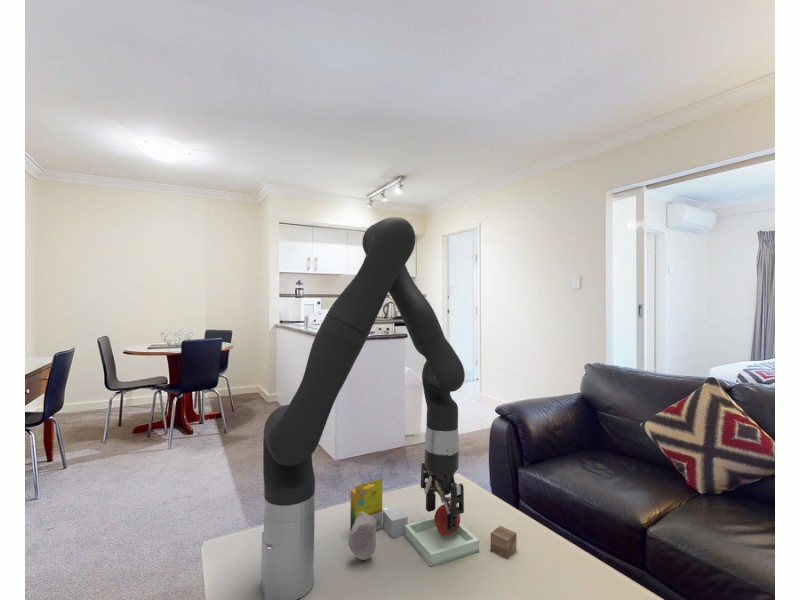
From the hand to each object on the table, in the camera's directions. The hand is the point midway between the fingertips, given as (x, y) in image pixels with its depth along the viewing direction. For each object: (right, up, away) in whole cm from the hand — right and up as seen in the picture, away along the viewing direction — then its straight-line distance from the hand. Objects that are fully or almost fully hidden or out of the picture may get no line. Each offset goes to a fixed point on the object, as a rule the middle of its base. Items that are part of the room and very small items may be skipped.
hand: (440, 519), depth 89 cm
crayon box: (-17, -5, +5) cm, 18 cm away
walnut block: (+13, -6, -2) cm, 15 cm away
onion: (0, -4, 0) cm, 4 cm away
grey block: (-10, -5, +5) cm, 13 cm away
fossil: (-17, -5, -6) cm, 19 cm away
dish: (0, -5, 0) cm, 5 cm away
